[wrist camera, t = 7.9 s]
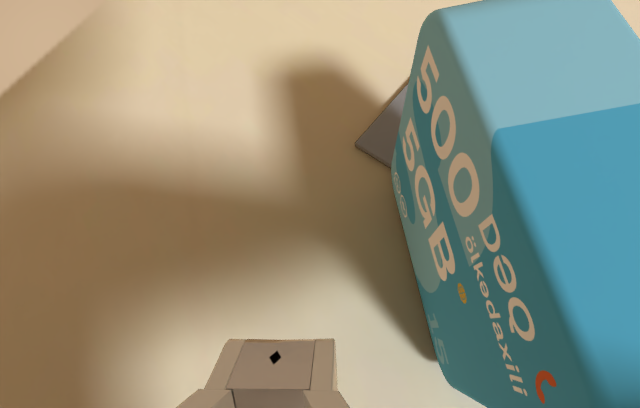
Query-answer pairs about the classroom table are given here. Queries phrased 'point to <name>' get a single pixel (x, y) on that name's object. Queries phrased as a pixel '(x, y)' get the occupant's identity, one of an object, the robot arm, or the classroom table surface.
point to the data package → (526, 200)
